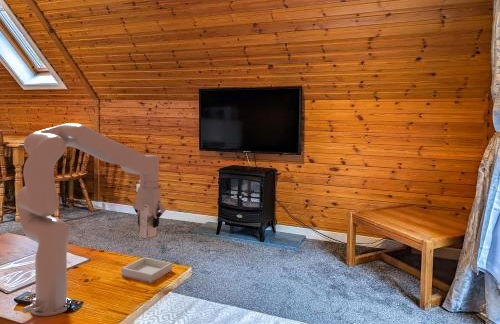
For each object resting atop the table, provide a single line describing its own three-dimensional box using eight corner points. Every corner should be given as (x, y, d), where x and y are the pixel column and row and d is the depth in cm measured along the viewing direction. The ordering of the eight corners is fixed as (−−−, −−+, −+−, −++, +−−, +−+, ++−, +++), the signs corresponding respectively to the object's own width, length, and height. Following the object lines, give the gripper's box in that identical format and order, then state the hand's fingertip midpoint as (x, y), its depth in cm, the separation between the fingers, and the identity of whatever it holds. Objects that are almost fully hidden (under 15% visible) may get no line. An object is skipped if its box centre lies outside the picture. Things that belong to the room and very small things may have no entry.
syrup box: (149, 233, 169) (150, 200, 168) (157, 236, 165) (158, 203, 164) (138, 235, 165) (139, 202, 163) (146, 239, 161) (147, 204, 160)
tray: (151, 283, 157) (151, 274, 157) (121, 276, 163) (121, 268, 162) (171, 270, 171) (172, 263, 171) (144, 264, 177) (144, 257, 176)
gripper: (126, 183, 163) (125, 224, 164) (161, 187, 156) (160, 230, 158) (138, 181, 169) (137, 220, 171) (171, 185, 163) (170, 226, 165)
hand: (148, 225), depth 165 cm, fingers closed on syrup box, 7 cm apart
